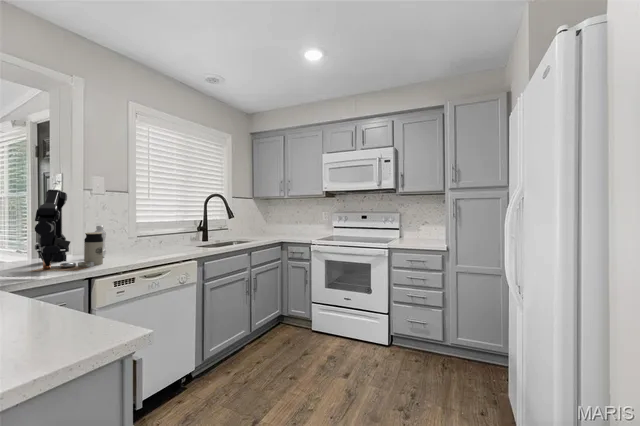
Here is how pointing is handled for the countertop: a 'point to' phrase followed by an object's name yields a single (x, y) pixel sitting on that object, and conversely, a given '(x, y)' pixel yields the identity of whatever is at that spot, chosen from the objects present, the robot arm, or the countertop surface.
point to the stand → (80, 267)
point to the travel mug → (93, 248)
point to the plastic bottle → (100, 229)
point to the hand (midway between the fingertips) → (47, 265)
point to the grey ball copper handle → (63, 265)
